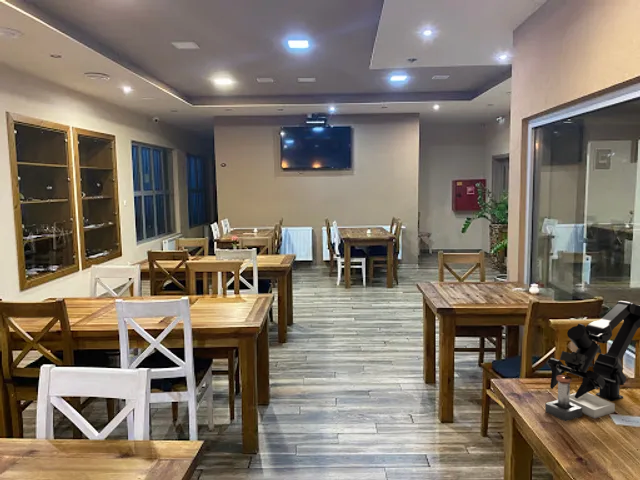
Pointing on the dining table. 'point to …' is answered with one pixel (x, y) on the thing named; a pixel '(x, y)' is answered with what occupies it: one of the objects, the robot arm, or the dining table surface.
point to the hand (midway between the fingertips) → (563, 392)
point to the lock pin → (564, 391)
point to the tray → (593, 405)
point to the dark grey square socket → (563, 411)
